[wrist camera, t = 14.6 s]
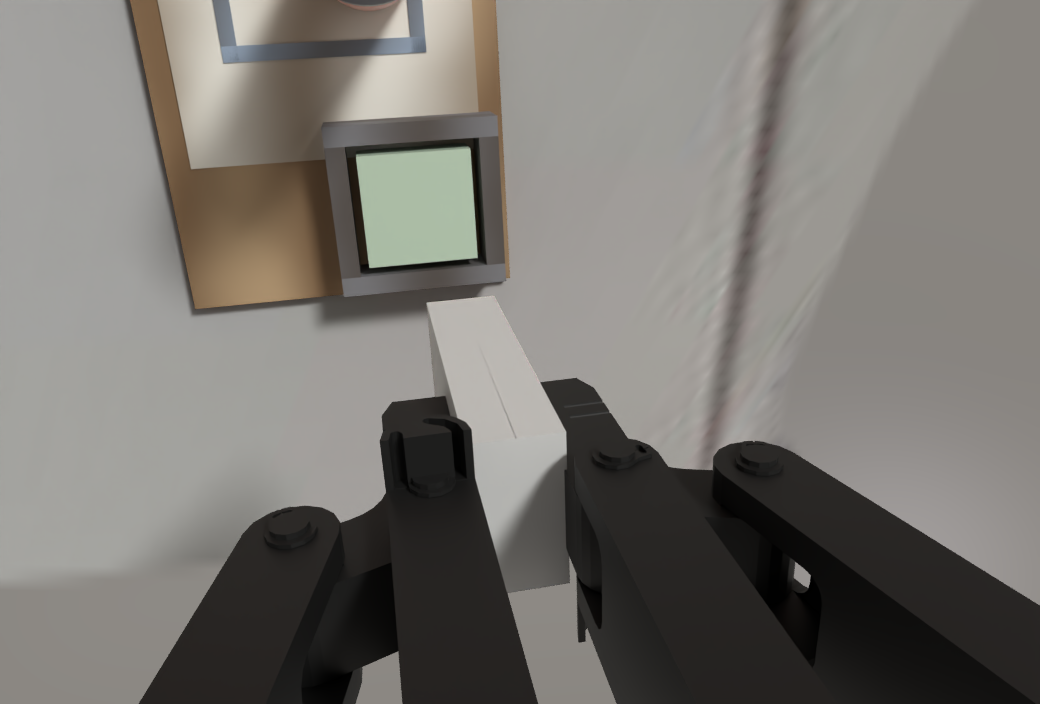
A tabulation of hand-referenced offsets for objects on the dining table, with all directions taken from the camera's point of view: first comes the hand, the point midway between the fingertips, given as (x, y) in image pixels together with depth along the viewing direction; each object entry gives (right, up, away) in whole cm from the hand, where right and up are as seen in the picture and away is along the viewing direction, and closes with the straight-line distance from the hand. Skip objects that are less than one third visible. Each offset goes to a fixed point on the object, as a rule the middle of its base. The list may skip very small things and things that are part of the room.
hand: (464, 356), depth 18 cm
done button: (-3, +7, +17) cm, 18 cm away
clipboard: (-7, +12, +15) cm, 20 cm away
